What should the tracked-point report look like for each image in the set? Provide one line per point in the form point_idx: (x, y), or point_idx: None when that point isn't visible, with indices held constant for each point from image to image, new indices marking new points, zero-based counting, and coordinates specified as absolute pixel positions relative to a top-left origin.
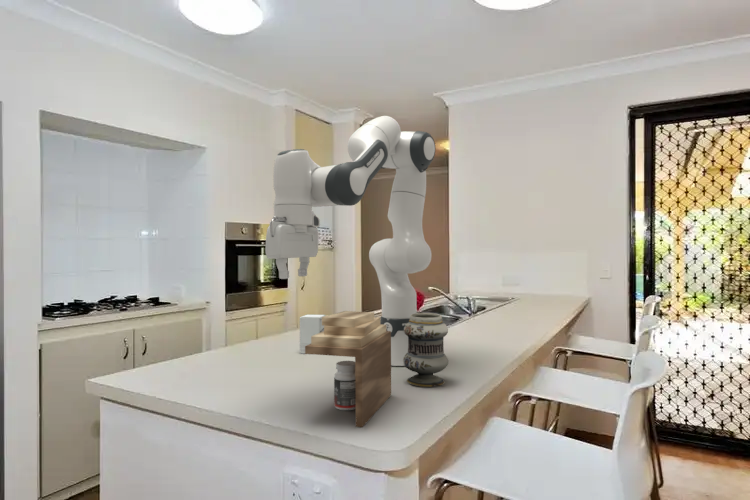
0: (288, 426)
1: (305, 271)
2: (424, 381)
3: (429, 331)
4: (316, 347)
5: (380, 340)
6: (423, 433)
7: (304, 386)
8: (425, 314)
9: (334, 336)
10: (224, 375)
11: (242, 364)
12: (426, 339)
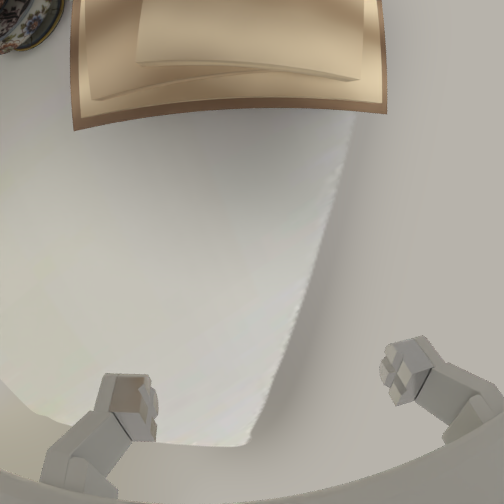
0: (345, 128)
1: (126, 396)
2: (52, 4)
3: None
4: (385, 81)
5: None
6: None
7: (133, 213)
8: None
9: (365, 33)
10: (148, 366)
11: (88, 374)
12: None
